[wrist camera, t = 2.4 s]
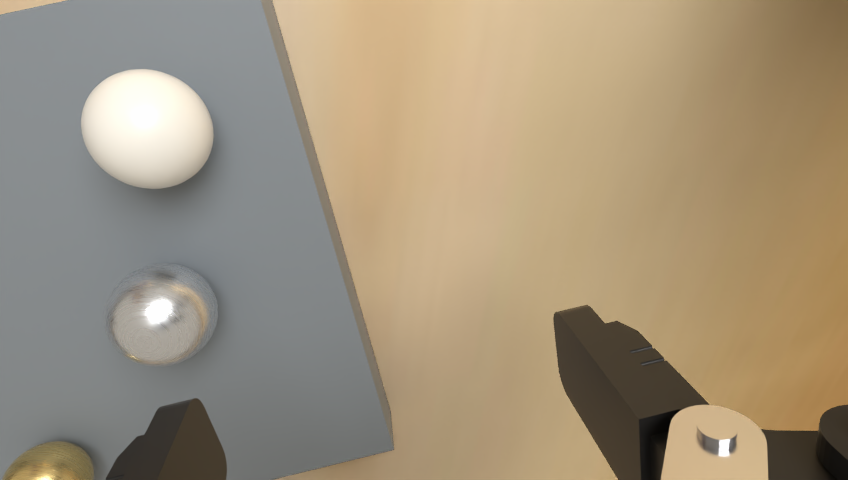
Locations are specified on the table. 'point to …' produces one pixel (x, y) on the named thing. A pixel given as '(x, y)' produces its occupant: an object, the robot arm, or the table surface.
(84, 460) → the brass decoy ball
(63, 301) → the plate
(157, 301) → the steel ball
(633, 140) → the table surface
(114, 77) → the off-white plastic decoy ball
